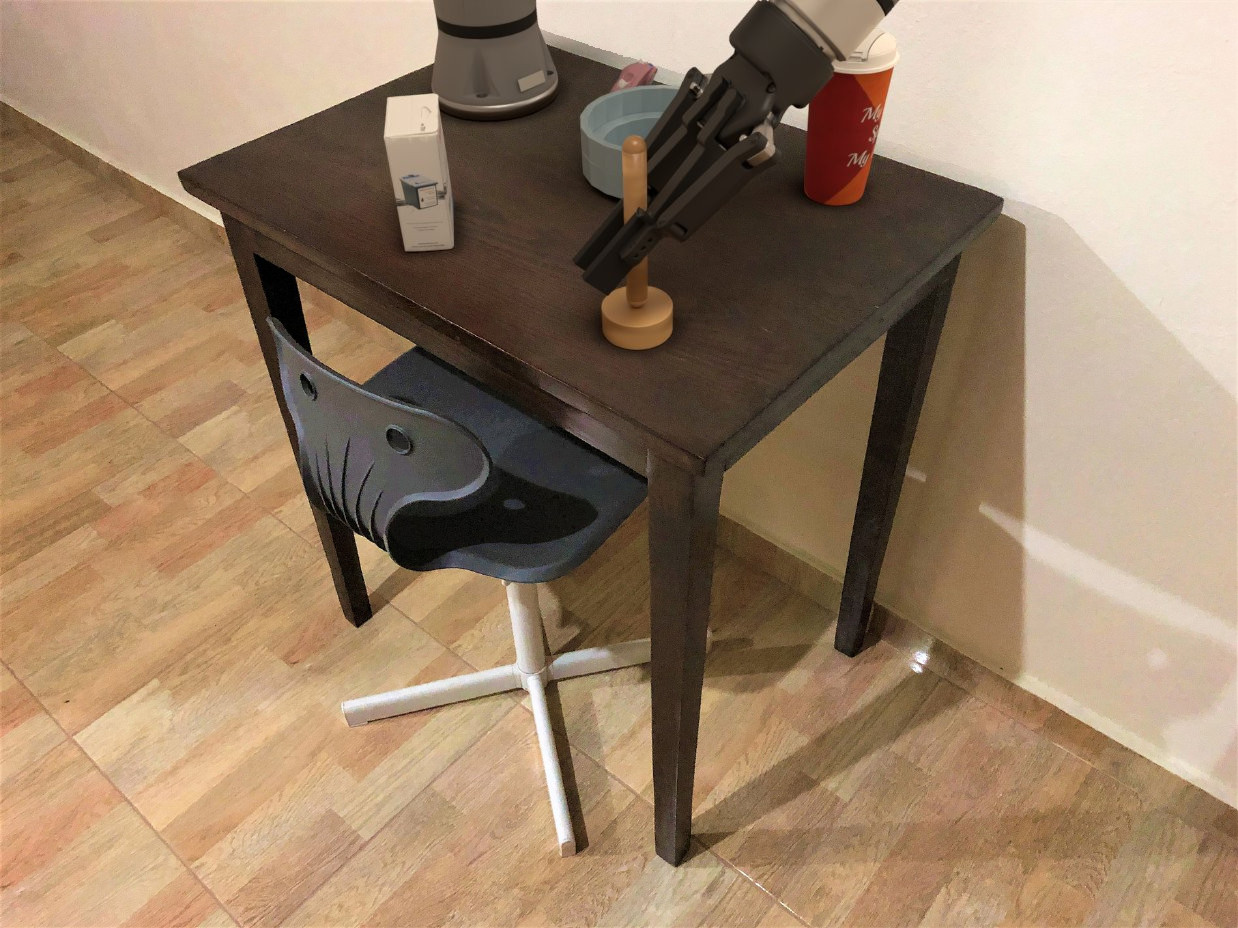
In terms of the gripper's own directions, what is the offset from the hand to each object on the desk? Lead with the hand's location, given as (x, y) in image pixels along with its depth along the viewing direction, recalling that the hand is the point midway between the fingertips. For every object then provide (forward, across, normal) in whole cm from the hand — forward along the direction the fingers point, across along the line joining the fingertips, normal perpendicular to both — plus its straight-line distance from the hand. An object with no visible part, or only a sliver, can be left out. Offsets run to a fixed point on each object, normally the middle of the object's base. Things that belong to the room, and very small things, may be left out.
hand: (590, 277), depth 74 cm
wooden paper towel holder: (+2, 0, -7) cm, 7 cm away
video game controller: (-7, +40, -16) cm, 43 cm away
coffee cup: (-17, +15, -26) cm, 34 cm away
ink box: (+11, +23, +2) cm, 25 cm away
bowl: (-6, +25, -15) cm, 30 cm away
